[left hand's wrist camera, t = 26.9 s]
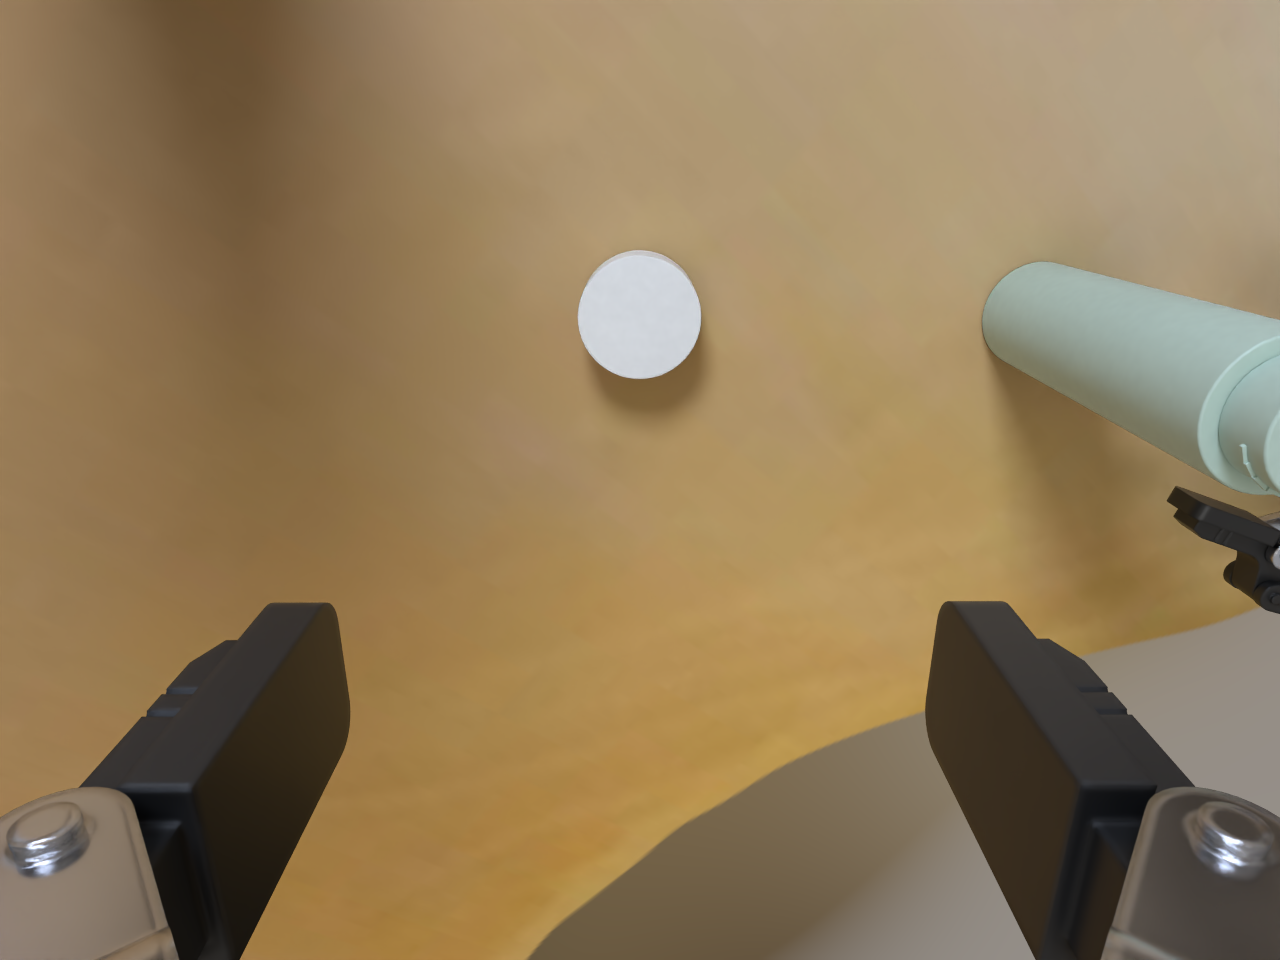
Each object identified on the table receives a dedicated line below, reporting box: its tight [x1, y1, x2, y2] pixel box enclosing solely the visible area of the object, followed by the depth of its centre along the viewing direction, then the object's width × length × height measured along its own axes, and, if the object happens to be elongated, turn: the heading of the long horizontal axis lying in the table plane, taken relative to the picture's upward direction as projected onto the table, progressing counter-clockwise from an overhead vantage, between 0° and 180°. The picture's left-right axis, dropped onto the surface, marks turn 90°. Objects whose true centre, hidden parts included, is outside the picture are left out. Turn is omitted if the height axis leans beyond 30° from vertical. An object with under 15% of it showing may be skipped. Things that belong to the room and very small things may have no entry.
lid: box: [578, 250, 701, 379], centre depth 37 cm, size 5×5×2 cm
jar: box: [982, 262, 1280, 497], centre depth 30 cm, size 5×5×18 cm
